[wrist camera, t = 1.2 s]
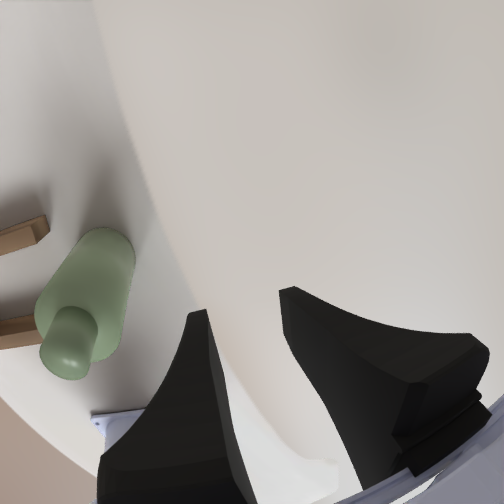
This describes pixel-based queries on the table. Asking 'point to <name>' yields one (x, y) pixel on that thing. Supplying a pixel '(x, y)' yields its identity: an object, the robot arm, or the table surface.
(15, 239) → the u rest
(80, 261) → the bottle
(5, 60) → the table surface
